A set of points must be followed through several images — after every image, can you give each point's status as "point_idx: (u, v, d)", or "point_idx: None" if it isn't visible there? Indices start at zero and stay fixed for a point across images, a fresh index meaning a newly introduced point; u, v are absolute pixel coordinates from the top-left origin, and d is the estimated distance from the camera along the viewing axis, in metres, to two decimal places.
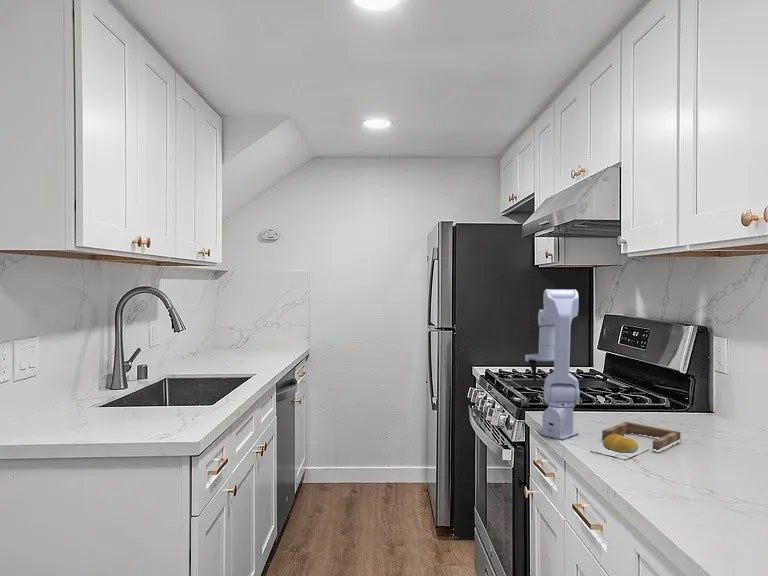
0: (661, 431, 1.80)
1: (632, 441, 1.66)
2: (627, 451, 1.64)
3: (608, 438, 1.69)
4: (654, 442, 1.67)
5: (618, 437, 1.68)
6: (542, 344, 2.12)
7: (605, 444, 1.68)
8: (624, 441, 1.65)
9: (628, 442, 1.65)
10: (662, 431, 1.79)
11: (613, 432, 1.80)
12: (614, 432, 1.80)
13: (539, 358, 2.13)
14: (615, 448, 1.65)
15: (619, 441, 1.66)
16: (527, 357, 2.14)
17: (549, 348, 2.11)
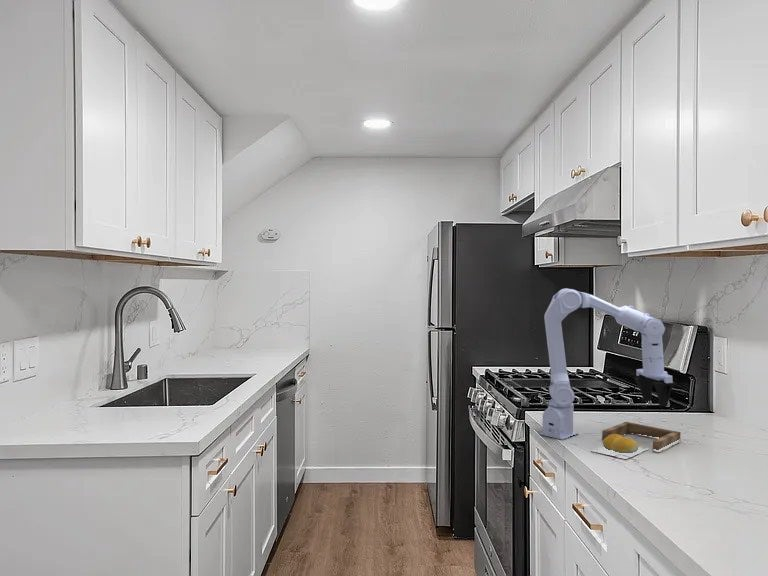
0: (661, 431, 1.80)
1: (632, 441, 1.66)
2: (627, 451, 1.64)
3: (608, 438, 1.69)
4: (654, 442, 1.67)
5: (618, 437, 1.68)
6: None
7: (605, 444, 1.68)
8: (624, 441, 1.65)
9: (628, 442, 1.65)
10: (662, 431, 1.79)
11: (613, 432, 1.80)
12: (614, 432, 1.80)
13: (641, 373, 1.83)
14: (615, 448, 1.65)
15: (619, 441, 1.66)
16: (637, 371, 1.87)
17: (645, 361, 1.80)
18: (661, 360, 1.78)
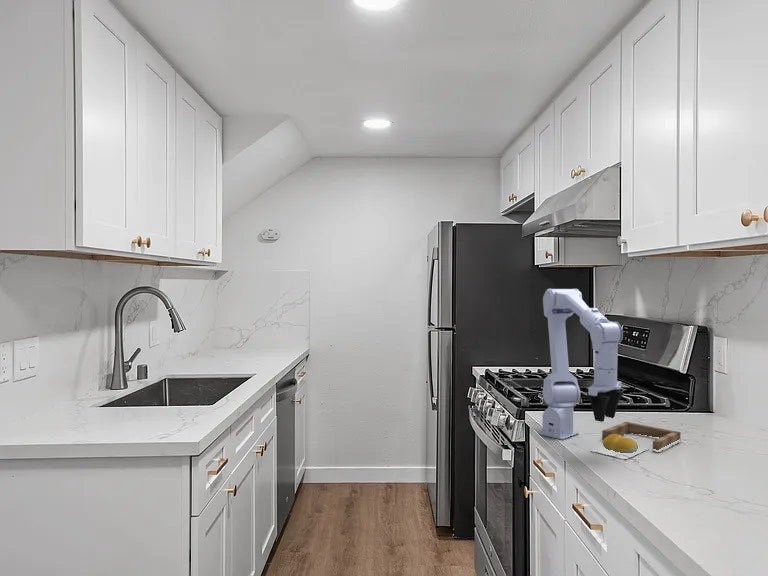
0: (661, 431, 1.80)
1: (632, 441, 1.66)
2: (627, 451, 1.64)
3: (608, 438, 1.69)
4: (654, 442, 1.67)
5: (618, 437, 1.68)
6: None
7: (605, 444, 1.68)
8: (624, 441, 1.65)
9: (628, 442, 1.65)
10: (662, 431, 1.79)
11: (613, 432, 1.80)
12: (614, 432, 1.80)
13: None
14: (615, 448, 1.65)
15: (619, 441, 1.66)
16: None
17: None
18: (604, 371, 1.59)
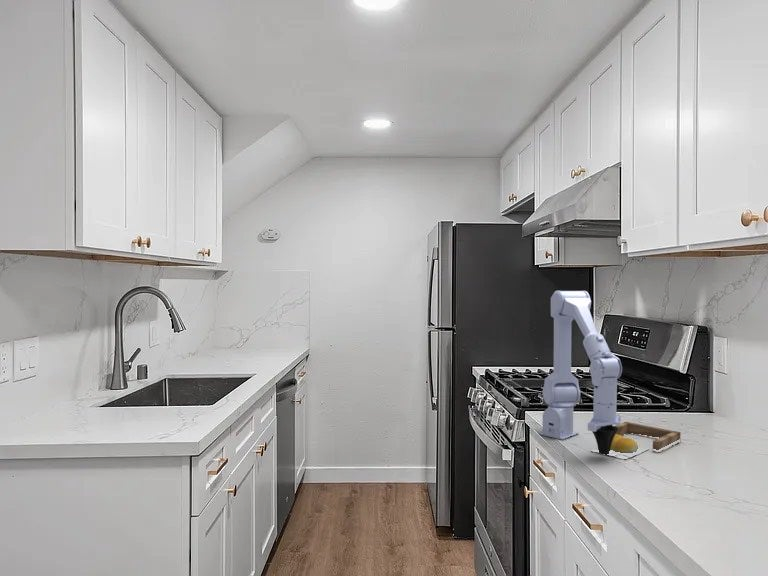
0: (661, 431, 1.80)
1: (632, 441, 1.66)
2: (626, 451, 1.64)
3: None
4: (654, 442, 1.67)
5: (618, 437, 1.68)
6: None
7: None
8: (624, 441, 1.65)
9: (628, 442, 1.65)
10: (662, 431, 1.79)
11: None
12: None
13: None
14: (615, 448, 1.65)
15: (619, 441, 1.66)
16: None
17: None
18: (603, 406, 1.59)
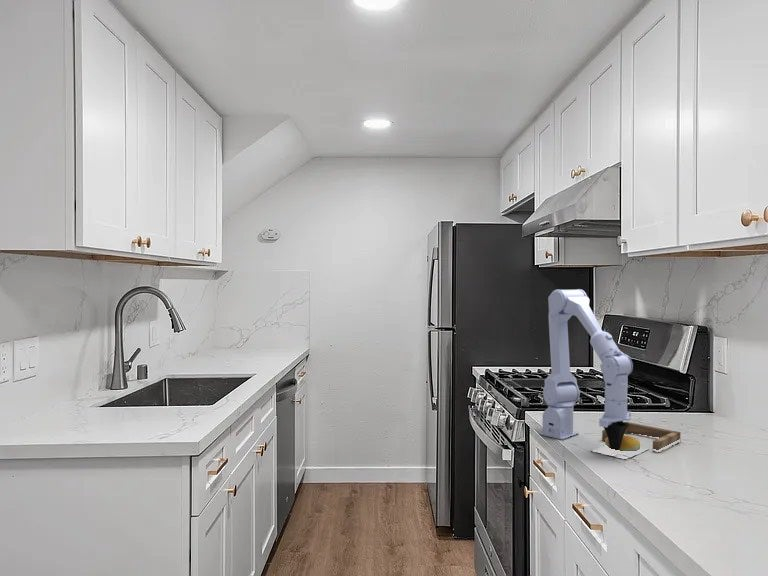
0: (661, 431, 1.80)
1: (634, 439, 1.67)
2: (630, 450, 1.66)
3: None
4: (654, 442, 1.67)
5: None
6: None
7: (608, 443, 1.69)
8: (627, 439, 1.67)
9: (631, 440, 1.66)
10: (662, 431, 1.79)
11: None
12: None
13: None
14: None
15: (622, 440, 1.67)
16: None
17: None
18: (614, 403, 1.63)
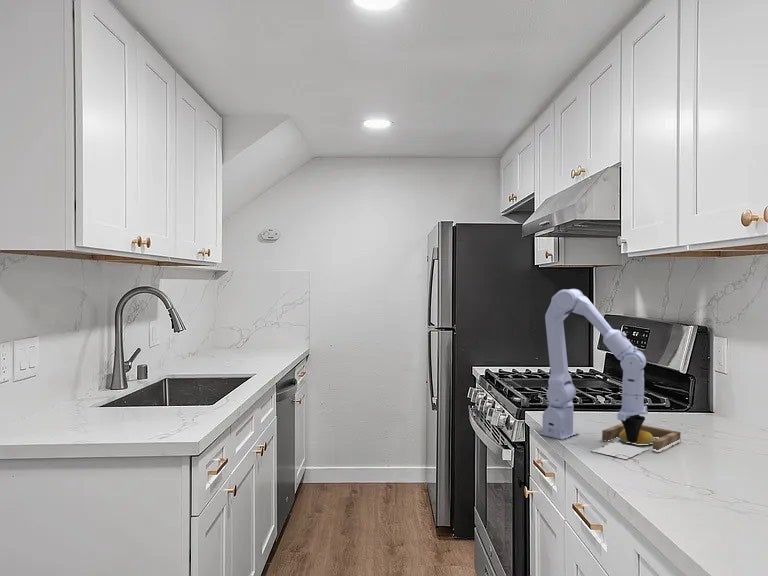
0: (661, 431, 1.80)
1: (649, 433, 1.75)
2: (646, 443, 1.73)
3: None
4: (654, 442, 1.67)
5: None
6: None
7: (624, 438, 1.76)
8: (642, 434, 1.74)
9: (646, 435, 1.74)
10: (662, 431, 1.79)
11: (613, 432, 1.80)
12: (614, 432, 1.80)
13: None
14: None
15: (638, 434, 1.74)
16: None
17: None
18: (632, 397, 1.71)
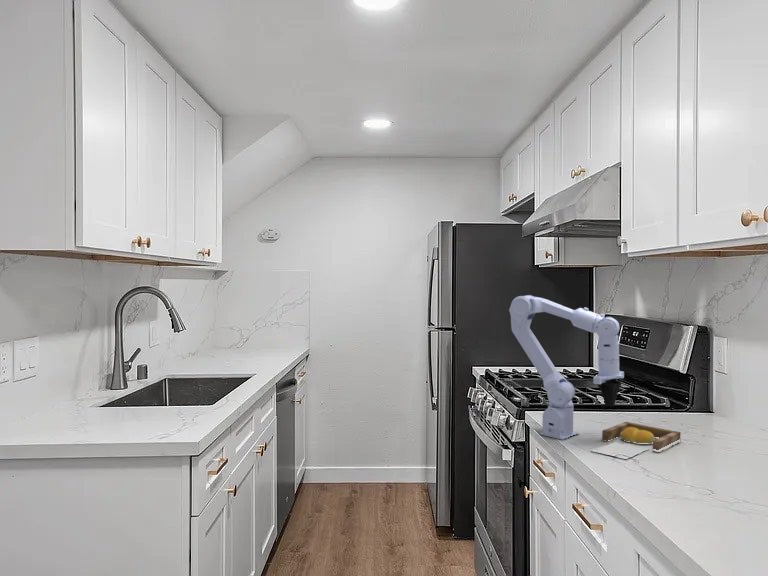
0: (661, 431, 1.80)
1: (650, 433, 1.76)
2: None
3: (627, 431, 1.78)
4: (654, 442, 1.67)
5: (636, 430, 1.78)
6: None
7: (625, 437, 1.77)
8: (644, 433, 1.75)
9: (647, 434, 1.75)
10: (662, 431, 1.79)
11: (613, 432, 1.80)
12: (614, 432, 1.80)
13: None
14: (636, 440, 1.75)
15: (639, 434, 1.75)
16: None
17: None
18: (607, 362, 1.75)
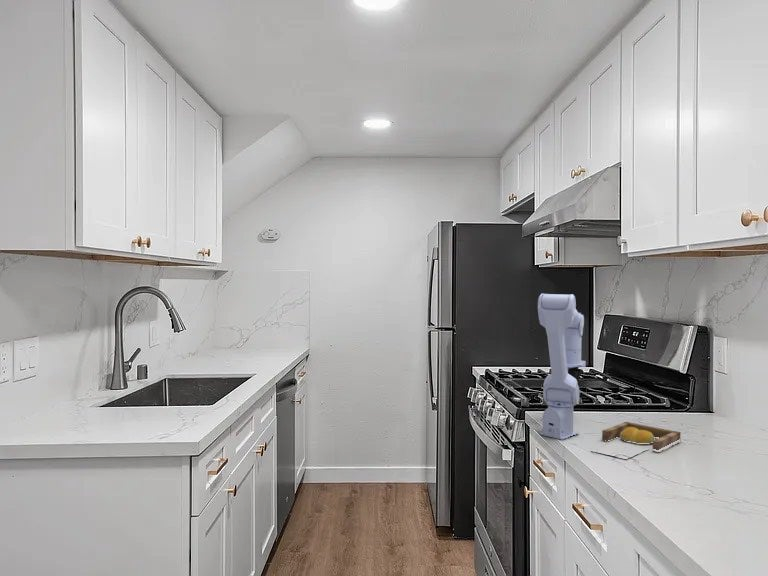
0: (661, 431, 1.80)
1: (650, 433, 1.76)
2: None
3: (626, 431, 1.78)
4: (654, 442, 1.67)
5: (635, 430, 1.78)
6: (564, 348, 1.97)
7: (624, 437, 1.77)
8: (643, 433, 1.75)
9: (647, 434, 1.75)
10: (662, 431, 1.79)
11: (613, 432, 1.80)
12: (614, 432, 1.80)
13: None
14: (636, 440, 1.75)
15: (639, 434, 1.75)
16: None
17: None
18: (570, 352, 1.96)
